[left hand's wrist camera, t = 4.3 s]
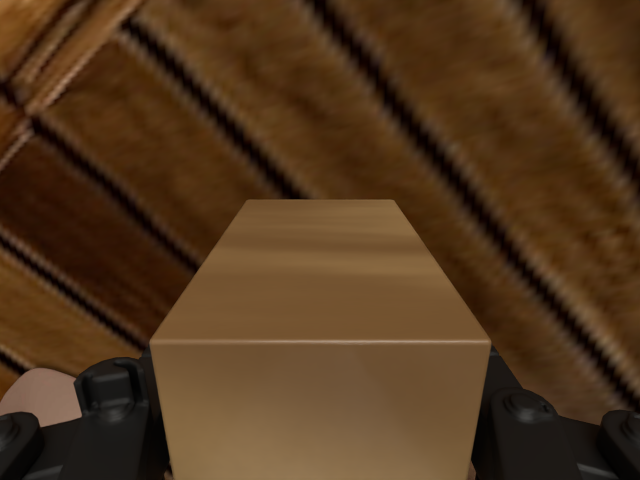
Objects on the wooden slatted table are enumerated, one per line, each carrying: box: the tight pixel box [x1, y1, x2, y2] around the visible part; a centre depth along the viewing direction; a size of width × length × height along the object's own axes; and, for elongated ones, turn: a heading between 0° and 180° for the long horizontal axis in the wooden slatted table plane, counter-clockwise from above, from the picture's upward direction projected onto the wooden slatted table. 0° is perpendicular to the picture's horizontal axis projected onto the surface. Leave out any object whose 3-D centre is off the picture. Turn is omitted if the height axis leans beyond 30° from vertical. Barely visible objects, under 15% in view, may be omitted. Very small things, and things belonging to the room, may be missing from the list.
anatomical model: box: [0, 368, 82, 427], centre depth 31 cm, size 13×4×12 cm
